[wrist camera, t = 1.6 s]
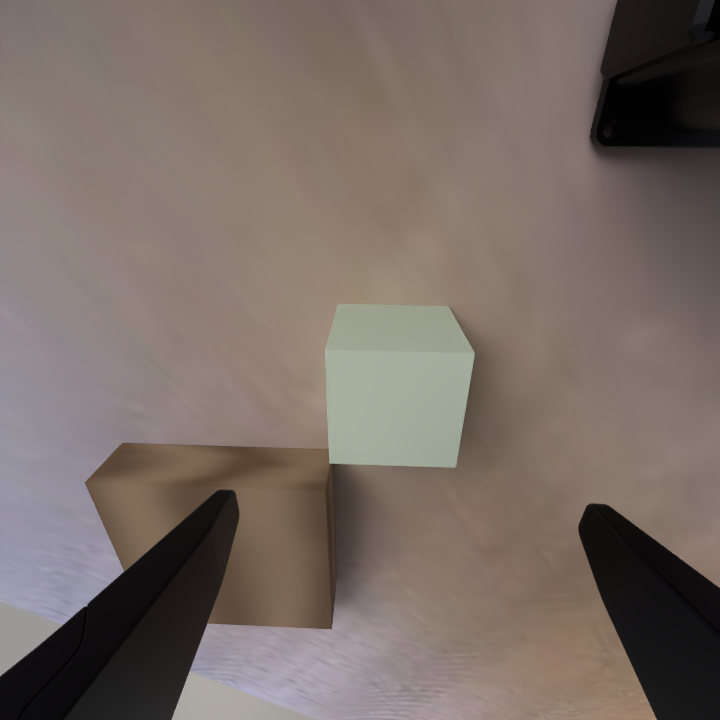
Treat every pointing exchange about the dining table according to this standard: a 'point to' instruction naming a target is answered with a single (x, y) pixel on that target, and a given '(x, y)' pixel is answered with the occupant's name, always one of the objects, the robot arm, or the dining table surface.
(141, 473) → the walnut plinth
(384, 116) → the dining table surface
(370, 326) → the sage block
